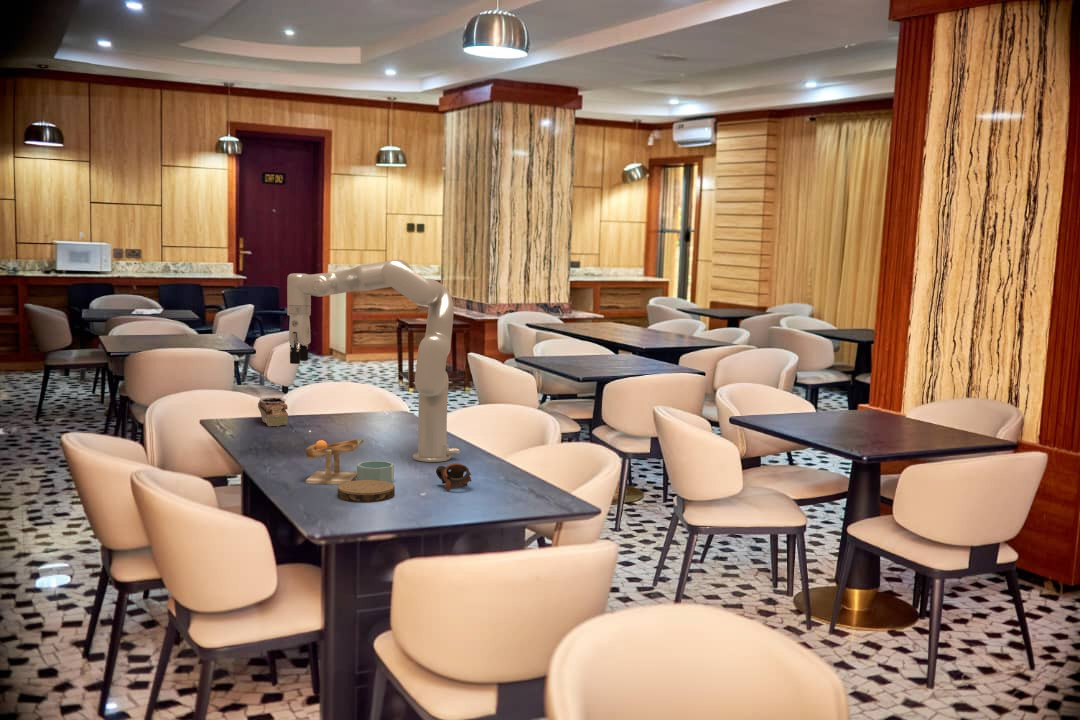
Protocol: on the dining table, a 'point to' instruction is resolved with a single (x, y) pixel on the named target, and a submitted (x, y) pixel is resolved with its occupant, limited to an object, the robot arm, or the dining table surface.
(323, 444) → the ball
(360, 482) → the wood log slice
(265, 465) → the dining table surface
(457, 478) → the pottery mug
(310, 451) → the lever
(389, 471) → the green octagonal bowl
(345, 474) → the frame
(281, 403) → the decorative box
